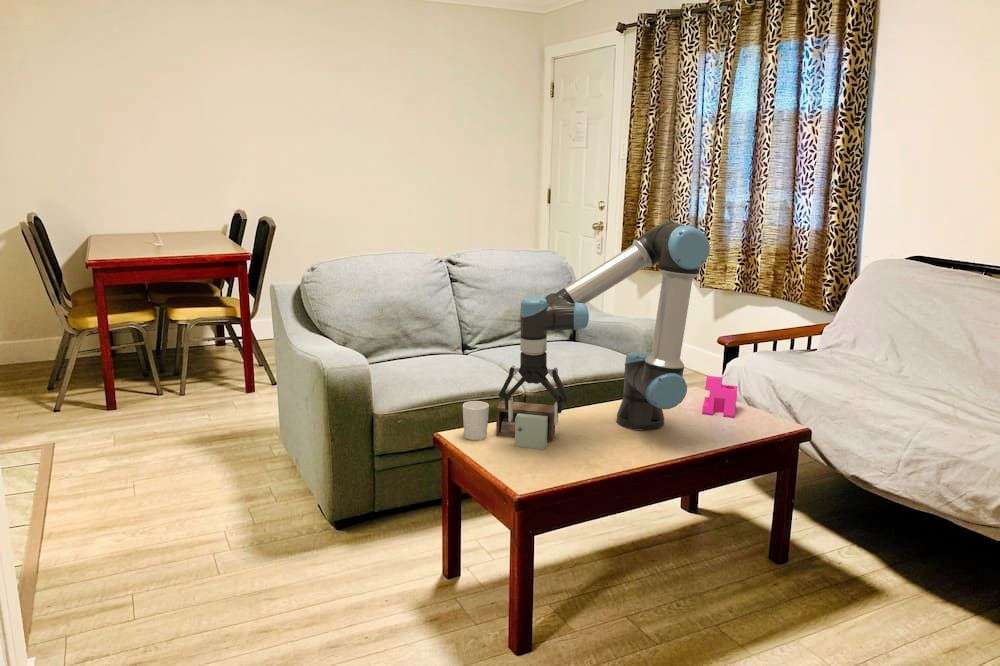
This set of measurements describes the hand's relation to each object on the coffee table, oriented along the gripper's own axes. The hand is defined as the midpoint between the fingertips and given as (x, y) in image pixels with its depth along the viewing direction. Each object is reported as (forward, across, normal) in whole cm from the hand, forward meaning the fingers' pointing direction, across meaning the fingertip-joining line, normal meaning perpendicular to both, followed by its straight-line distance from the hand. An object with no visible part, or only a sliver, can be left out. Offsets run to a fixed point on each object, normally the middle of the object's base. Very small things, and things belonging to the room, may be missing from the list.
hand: (533, 421), depth 224 cm
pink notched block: (+10, -55, -48) cm, 74 cm away
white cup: (+7, +18, -2) cm, 20 cm away
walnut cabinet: (+7, +4, -7) cm, 11 cm away
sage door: (+7, +1, 0) cm, 7 cm away
